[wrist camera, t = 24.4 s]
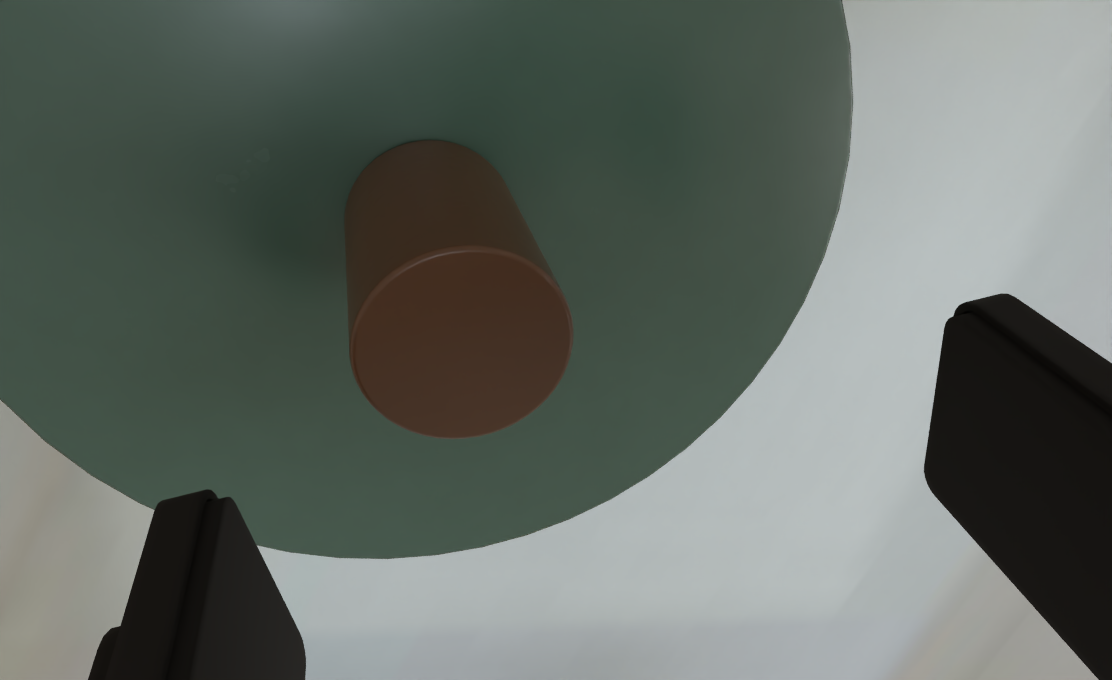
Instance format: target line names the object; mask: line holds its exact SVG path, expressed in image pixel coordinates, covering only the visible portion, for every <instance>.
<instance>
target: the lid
mask: <svg viewBox="0 0 1112 680" xmlns="http://www.w3.org/2000/svg"><path fill="white" fill-rule="evenodd" d="M852 111H853V92H852V72H851V53H850V43H849V37H848V31H847V26H846V20H845V15H844V9H843V4H842V0H0V400H1V401H2V402H3V403H5V404H6V405H7V406H8V407H9V408H10V409H11V410H12V411H13V412H14V413H15V414H16V415H17V416H18V417H20V418H21V419H22V420H23V421H24V422H25V423H26V424H27V425H28V426H29V427H30V428H31V429H32V430H33V431H34V432H36V433H37V434H38V435H39V436H40V437H41V438H42V439H43V440H44V441H45V442H47V443H48V444H49V445H51V446H52V447H53V448H55V449H56V450H58V451H59V452H60V453H62V454H63V455H64V456H66V457H67V458H68V459H70V460H71V461H72V462H74V463H75V464H77V465H78V466H79V467H81V468H82V469H83V470H85V471H86V472H87V473H89V474H90V475H91V476H93V477H95V478H97V479H98V480H100V481H102V482H104V483H105V484H107V485H109V486H111V487H112V488H114V489H116V490H117V491H119V492H121V493H123V494H124V495H126V496H128V497H130V498H131V499H133V500H135V501H137V502H138V503H140V504H142V505H145V506H147V507H149V508H151V509H154V510H155V508H156V506H157V504H158V503H159V502H160V501H162V500H166V499H170V498H174V497H178V496H182V495H186V494H190V493H194V492H198V491H202V490H206V489H209V490H212V491H213V492H214V493H215V494H216V495H217V497H218V498H219V499H220V498H224V497H231V498H232V499H233V500H234V502H235V503H236V505H237V507H238V509H239V511H240V513H241V515H242V517H243V519H244V521H245V523H246V525H247V527H248V529H249V531H250V533H251V535H252V537H253V539H254V541H255V543H256V545H258V546H263V547H267V548H272V549H277V550H281V551H286V552H291V553H300V554H309V555H318V556H327V557H335V558H370V559H392V558H405V557H418V556H431V555H439V554H445V553H451V552H457V551H463V550H469V549H474V548H480V547H485V546H488V545H492V544H496V543H499V542H503V541H507V540H510V539H514V538H518V537H522V536H525V535H528V534H531V533H534V532H536V531H539V530H542V529H544V528H547V527H550V526H553V525H555V524H558V523H561V522H563V521H566V520H569V519H571V518H573V517H575V516H577V515H579V514H581V513H583V512H585V511H587V510H590V509H592V508H594V507H596V506H598V505H600V504H602V503H604V502H606V501H608V500H610V499H612V498H614V497H615V496H617V495H619V494H620V493H622V492H624V491H625V490H627V489H629V488H630V487H632V486H633V485H635V484H637V483H638V482H640V481H642V480H643V479H645V478H647V477H648V476H650V475H651V474H653V473H654V472H655V471H657V470H658V469H659V468H661V467H662V466H663V465H665V464H666V463H667V462H669V461H670V460H671V459H673V458H674V457H675V456H677V455H678V454H679V453H681V452H682V451H683V450H685V449H686V448H687V447H688V446H690V445H691V444H692V443H693V442H694V441H695V440H696V439H697V438H698V437H699V436H701V435H702V434H703V433H704V432H705V431H706V430H707V429H708V428H709V427H710V426H712V425H713V424H714V423H715V422H716V421H717V420H718V419H719V418H720V417H721V416H722V415H723V414H724V413H725V412H726V411H727V410H728V408H729V407H730V406H731V405H732V404H733V403H734V402H735V401H736V400H737V398H738V397H739V396H740V395H741V394H742V393H743V392H744V391H745V390H746V388H747V387H748V386H749V385H750V384H751V383H752V382H753V380H754V379H755V377H756V376H757V375H758V373H759V372H760V371H761V369H762V368H763V367H764V365H765V364H766V362H767V361H768V360H769V358H770V357H771V356H772V354H773V353H774V351H775V350H776V349H777V347H778V346H779V345H780V343H781V341H782V339H783V338H784V336H785V334H786V333H787V331H788V329H789V327H790V326H791V324H792V322H793V321H794V319H795V317H796V315H797V314H798V312H799V310H800V308H801V307H802V305H803V303H804V301H805V299H806V297H807V294H808V292H809V290H810V288H811V285H812V283H813V281H814V279H815V276H816V274H817V272H818V270H819V267H820V265H821V263H822V261H823V258H824V256H825V252H826V249H827V246H828V243H829V240H830V237H831V233H832V230H833V227H834V224H835V221H836V218H837V214H838V211H839V207H840V202H841V197H842V192H843V187H844V182H845V176H846V171H847V166H848V161H849V153H850V139H851V125H852Z"/></svg>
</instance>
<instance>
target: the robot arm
mask: <svg viewBox="0 0 1112 680" xmlns="http://www.w3.org/2000/svg"><path fill="white" fill-rule="evenodd" d="M924 473H925V478H926V481H927V484H928V486H929V488H930V490H931V491H932V493H933V494H934V495H935V497H936V498H937V499H938V500H939V501H940V502H941V503H942V504H943V506H944V507H945V508H946V509H947V510H948V511H949V512H950V513H951V514H952V516H953V517H954V518H955V519H956V520H957V521H958V522H959V523H960V525H961V526H962V527H963V528H964V529H965V530H966V531H967V532H968V534H969V535H970V536H971V537H972V538H973V539H974V540H975V541H976V543H977V544H978V545H979V546H980V547H981V548H982V549H983V550H984V551H985V553H986V554H987V555H988V556H989V557H990V558H991V559H992V560H993V562H994V563H995V564H996V565H997V566H998V567H999V568H1000V569H1001V571H1002V572H1003V573H1004V574H1005V575H1006V576H1007V577H1008V578H1009V580H1010V581H1011V582H1012V583H1013V584H1014V585H1015V586H1016V587H1017V589H1018V590H1019V591H1020V592H1021V593H1022V594H1023V595H1024V596H1025V597H1026V599H1027V600H1028V601H1029V602H1030V603H1031V604H1032V605H1033V606H1034V608H1035V609H1036V610H1037V611H1038V612H1039V613H1040V614H1041V615H1042V617H1043V618H1044V619H1045V620H1046V621H1047V622H1048V623H1049V624H1050V626H1051V627H1052V628H1053V629H1054V630H1055V631H1056V632H1057V633H1058V635H1059V636H1060V637H1061V638H1062V639H1063V640H1064V641H1065V642H1066V643H1067V645H1068V646H1069V647H1070V648H1071V649H1072V650H1073V651H1074V652H1075V654H1076V655H1077V656H1078V657H1079V658H1080V659H1081V660H1082V661H1083V663H1084V664H1085V665H1086V666H1087V667H1088V668H1089V669H1090V670H1091V672H1092V673H1093V674H1094V675H1095V676H1096V677H1097V678H1098V679H1099V680H1112V363H1110V362H1109V361H1107V360H1106V359H1104V358H1103V357H1101V356H1100V355H1099V354H1097V353H1096V352H1094V351H1093V350H1091V349H1090V348H1088V347H1087V346H1085V345H1084V344H1083V343H1081V342H1080V341H1078V340H1077V339H1075V338H1074V337H1072V336H1071V335H1069V334H1068V333H1067V332H1065V331H1064V330H1062V329H1061V328H1059V327H1058V326H1056V325H1055V324H1053V323H1052V322H1051V321H1049V320H1048V319H1046V318H1045V317H1043V316H1042V315H1040V314H1039V313H1037V312H1036V311H1035V310H1033V309H1032V308H1030V307H1029V306H1027V305H1026V304H1024V303H1023V302H1021V301H1020V300H1019V299H1017V298H1016V297H1014V296H1012V295H1009V294H998V295H994V296H990V297H985V298H981V299H977V300H973V301H969V302H965V303H963V304H961V305H959V306H958V308H957V309H956V310H955V313H954V316H953V317H951V318H949V319H948V321H947V322H946V324H945V328H944V334H943V341H942V348H941V355H940V362H939V368H938V375H937V382H936V389H935V396H934V403H933V409H932V416H931V423H930V430H929V437H928V444H927V451H926V457H925V464H924ZM305 671H306V657H305V649H304V644H303V640H302V637H301V635H300V632H299V630H298V628H297V626H296V624H295V622H294V620H293V618H292V616H291V614H290V612H289V610H288V608H287V606H286V604H285V602H284V600H283V598H282V596H281V594H280V592H279V590H278V588H277V586H276V584H275V582H274V580H273V578H272V576H271V574H270V572H269V570H268V568H267V566H266V564H265V562H264V559H263V557H262V555H261V553H260V551H259V549H258V547H257V545H256V543H255V541H254V539H253V537H252V535H251V533H250V531H249V529H248V527H247V525H246V523H245V521H244V519H243V517H242V515H241V513H240V511H239V509H238V507H237V505H236V503H235V502H234V500H233V499H232V498H231V497H224V498H220V499H219V498H218V497H217V495H216V494H215V493H214V492H213V491H212V490H209V489H206V490H202V491H198V492H194V493H190V494H186V495H182V496H178V497H174V498H170V499H166V500H162V501H160V502H159V503H158V504H157V506H156V508H155V511H154V514H153V517H152V521H151V524H150V528H149V531H148V534H147V538H146V541H145V545H144V548H143V551H142V555H141V558H140V562H139V565H138V568H137V572H136V575H135V579H134V582H133V586H132V589H131V592H130V596H129V599H128V603H127V606H126V609H125V613H124V616H123V620H122V623H121V626H119V627H115V628H111V629H110V630H109V631H108V632H107V633H106V634H105V635H104V636H103V638H102V641H101V643H100V645H99V647H98V650H97V653H96V656H95V659H94V662H93V666H92V669H91V672H90V675H89V678H88V680H305Z"/></svg>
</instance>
